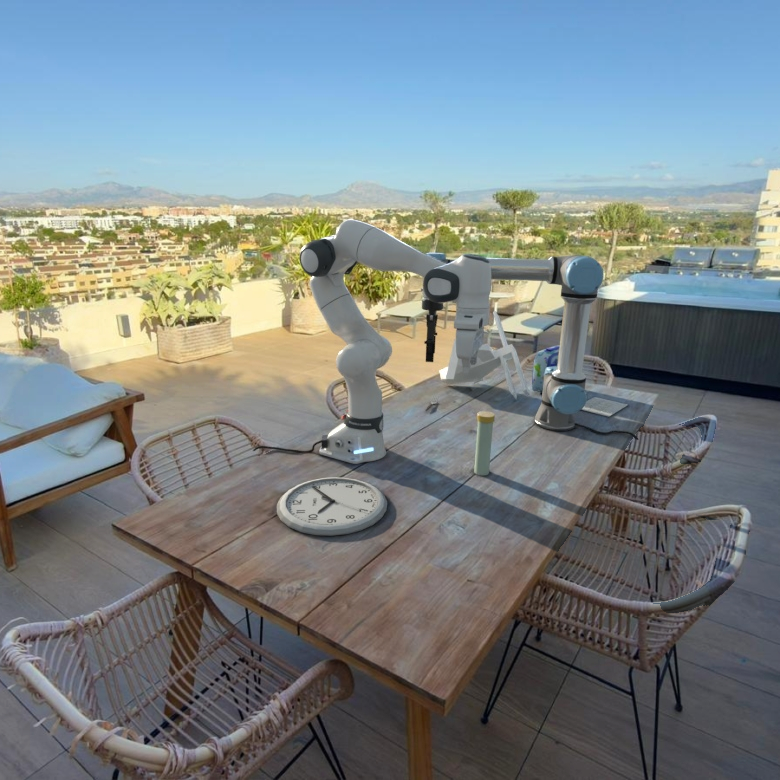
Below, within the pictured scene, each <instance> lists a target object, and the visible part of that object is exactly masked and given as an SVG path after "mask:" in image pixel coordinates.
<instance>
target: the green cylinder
mask: <svg viewBox="0 0 780 780" xmlns="http://www.w3.org/2000/svg"><path fill="white" fill-rule="evenodd" d="M476 426H477V428H476V442H475V456H474V469H473V472H474V474H476V475H478V476H488V475H489V474H490V463H491V454H492V453H491V451H492V440H493V439H492V438H493V427H494V422H492V423H483V422H479V421H478V420H477V425H476Z"/></svg>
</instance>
